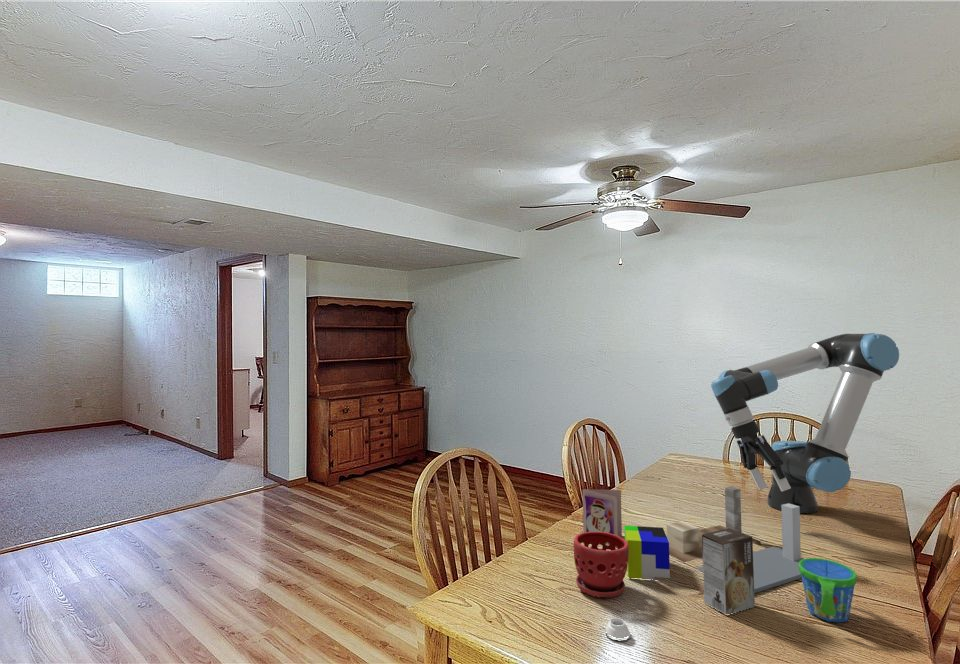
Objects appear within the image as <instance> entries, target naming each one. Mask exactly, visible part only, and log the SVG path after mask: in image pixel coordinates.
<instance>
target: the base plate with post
mask: <svg viewBox="0 0 960 664" xmlns="http://www.w3.org/2000/svg"><path fill="white" fill-rule="evenodd" d="M781 508H782V510H781V542H782V543H781V544H782V546H781V547H782V549H781V548H779V547H776V546H771V547H767V548H763V549H759V550H756V551H753V570H754V594H757V593H760V592H763V591H767V590H769V589H772V588H775V587H778V586H781V585H784V584H788V583H790V582H793V581H796V580H800V579H802V575H801V573H800V571H799V562H800V561H801V560H803V559H805V558H804V557H802V556H801V555H802V554H801V552H802V551H801V549H802V548H801V513H800V507H799V506H796V505H793V504H789V503H788V504H784V505H781ZM695 569H696V570H699V571H700V572H702V573H703V565H702V566H698V567H696V568H695Z"/></svg>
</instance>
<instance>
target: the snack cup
mask: <svg viewBox="0 0 960 664" xmlns="http://www.w3.org/2000/svg"><path fill="white" fill-rule="evenodd" d="M799 571H800V573H801V575H802V578H801V581H802V585H803V592H804V597H805V604H806V607H807V609H808V611H809V612H810V614H811V615H813V616H816V617H817V618H819V619H821V620H824V621H827V622H831V623H832V622H833V623H843V622H844V623H846V622H848V620H849V618H850V614H851V609H852V603H853V599H854V598H853V597H854V590H855V585H856V584H857V581H858V576H857V573H856V572H855V570H854V569H852V568H851V567H849V566H848V565H845V564H843V563H841V562H838V561H834V560H830V559H825V558H819V557H818V558H816V557H809V558H807V557H806V558H804V559H803V560H801V561H800V562H799Z"/></svg>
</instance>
